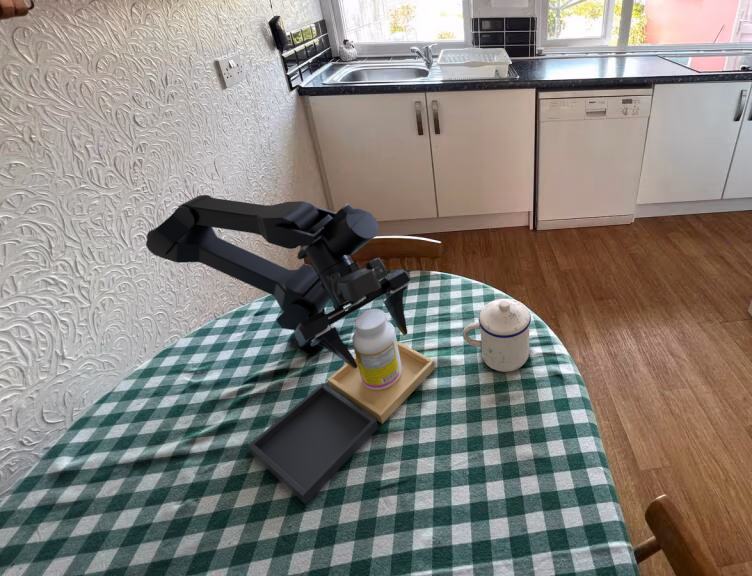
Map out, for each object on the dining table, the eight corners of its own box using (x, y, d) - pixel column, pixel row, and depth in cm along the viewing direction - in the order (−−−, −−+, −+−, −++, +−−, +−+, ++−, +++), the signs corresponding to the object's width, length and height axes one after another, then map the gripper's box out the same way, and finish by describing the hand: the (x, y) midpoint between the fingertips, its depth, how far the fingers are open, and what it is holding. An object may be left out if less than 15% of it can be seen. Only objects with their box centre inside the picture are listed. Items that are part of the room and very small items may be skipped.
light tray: (329, 387, 69) (326, 379, 68) (384, 340, 79) (382, 333, 78) (382, 424, 63) (380, 415, 62) (435, 368, 73) (434, 360, 72)
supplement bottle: (369, 359, 74) (357, 303, 68) (406, 360, 74) (397, 304, 68) (356, 392, 68) (341, 333, 62) (396, 392, 68) (384, 334, 62)
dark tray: (251, 453, 59) (247, 445, 58) (324, 391, 69) (322, 382, 68) (305, 504, 53) (302, 496, 52) (378, 428, 63) (376, 419, 62)
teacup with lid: (528, 334, 80) (528, 285, 75) (532, 372, 72) (533, 321, 67) (465, 336, 79) (462, 288, 74) (463, 376, 71) (459, 324, 66)
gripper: (283, 280, 57) (338, 381, 55) (398, 228, 69) (446, 308, 67) (274, 301, 65) (322, 389, 63) (379, 250, 77) (421, 323, 76)
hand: (382, 350), depth 67 cm, fingers open, 9 cm apart
